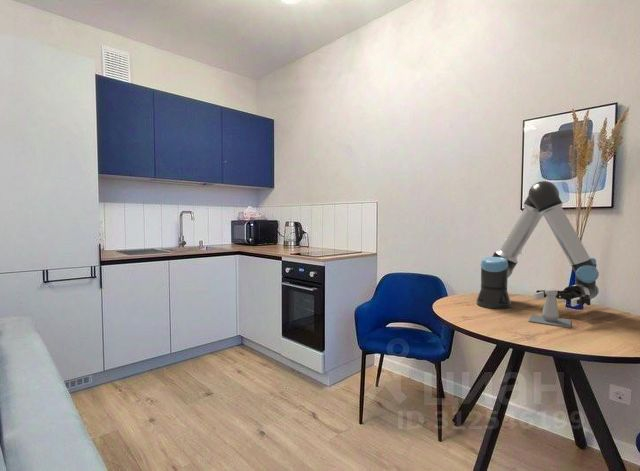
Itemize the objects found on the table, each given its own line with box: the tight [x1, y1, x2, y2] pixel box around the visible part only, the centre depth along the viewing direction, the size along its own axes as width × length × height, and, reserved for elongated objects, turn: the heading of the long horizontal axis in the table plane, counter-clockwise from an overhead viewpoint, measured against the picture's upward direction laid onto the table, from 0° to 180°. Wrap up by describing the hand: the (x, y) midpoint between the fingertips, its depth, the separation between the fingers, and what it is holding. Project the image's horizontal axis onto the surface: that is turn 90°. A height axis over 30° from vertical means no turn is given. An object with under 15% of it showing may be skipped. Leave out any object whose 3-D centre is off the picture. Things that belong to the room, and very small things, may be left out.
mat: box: [528, 314, 572, 329], centre depth 142 cm, size 14×12×1 cm
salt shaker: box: [541, 288, 560, 322], centre depth 142 cm, size 6×6×13 cm
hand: (553, 299), depth 142 cm, fingers open, 13 cm apart
